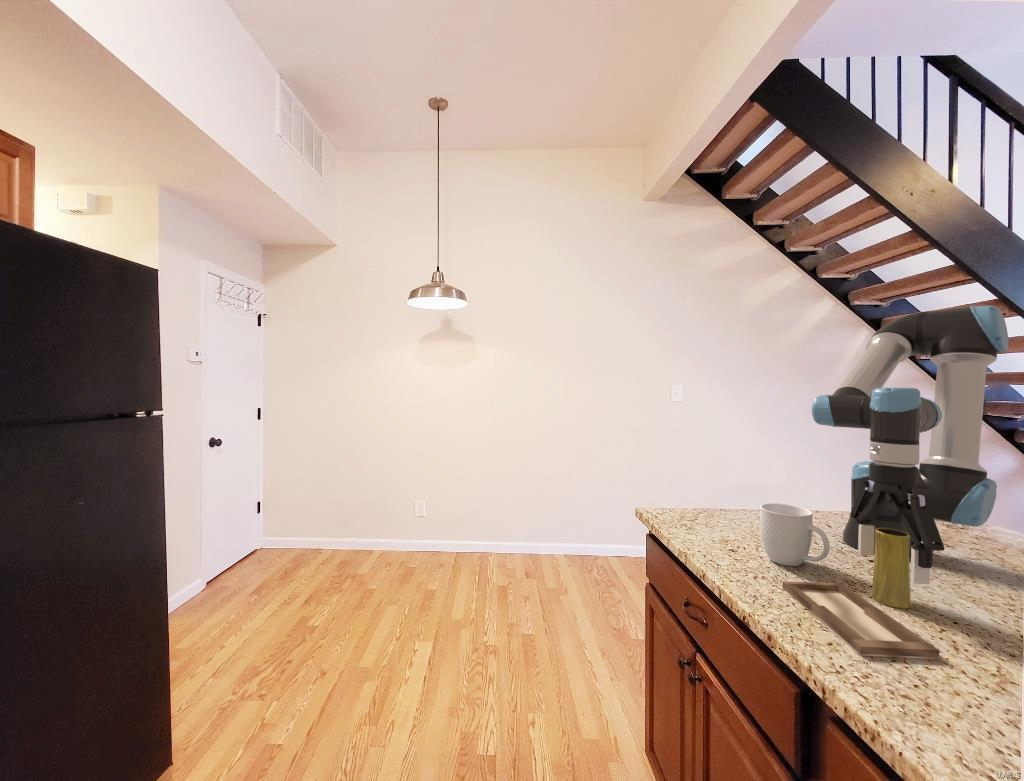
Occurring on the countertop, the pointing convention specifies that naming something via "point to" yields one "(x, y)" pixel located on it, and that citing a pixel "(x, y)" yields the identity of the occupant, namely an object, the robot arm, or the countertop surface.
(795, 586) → the shallow serving tray
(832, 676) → the countertop surface
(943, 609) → the countertop surface
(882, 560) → the vase
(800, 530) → the mug
